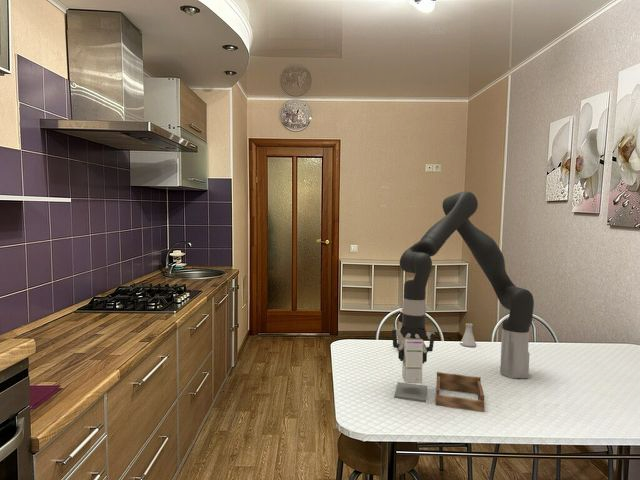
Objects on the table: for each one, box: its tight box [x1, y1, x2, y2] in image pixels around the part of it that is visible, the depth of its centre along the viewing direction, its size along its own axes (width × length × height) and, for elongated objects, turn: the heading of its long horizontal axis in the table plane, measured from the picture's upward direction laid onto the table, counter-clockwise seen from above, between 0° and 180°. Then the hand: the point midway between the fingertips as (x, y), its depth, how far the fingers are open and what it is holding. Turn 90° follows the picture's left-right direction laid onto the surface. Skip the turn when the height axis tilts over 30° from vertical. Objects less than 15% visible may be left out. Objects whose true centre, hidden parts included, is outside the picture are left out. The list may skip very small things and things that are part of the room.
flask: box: [459, 322, 477, 348], centre depth 190 cm, size 7×7×10 cm
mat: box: [393, 381, 428, 403], centre depth 135 cm, size 10×12×1 cm
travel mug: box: [397, 308, 403, 352], centre depth 179 cm, size 8×8×18 cm
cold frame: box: [435, 371, 485, 413], centre depth 130 cm, size 14×14×6 cm
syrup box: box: [401, 337, 424, 384], centre depth 134 cm, size 6×6×14 cm
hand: (412, 361), depth 134 cm, fingers closed on syrup box, 6 cm apart
